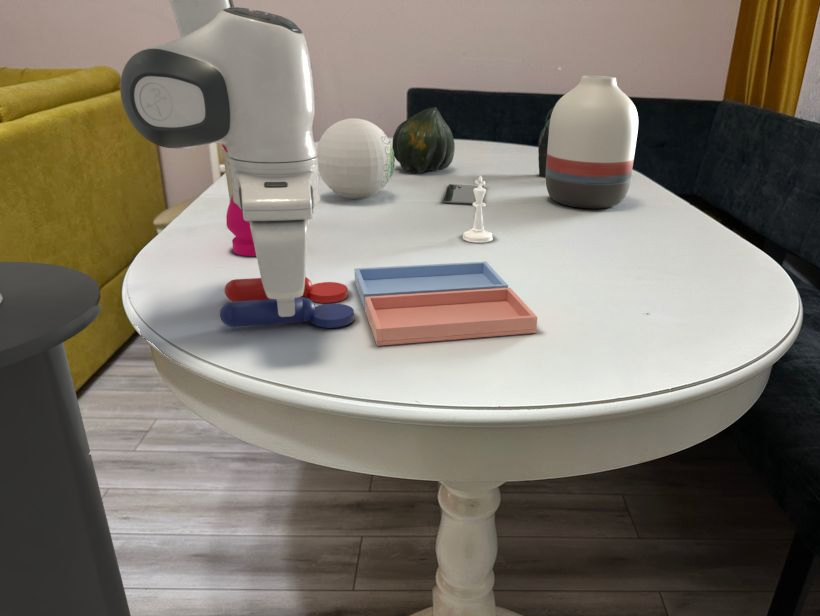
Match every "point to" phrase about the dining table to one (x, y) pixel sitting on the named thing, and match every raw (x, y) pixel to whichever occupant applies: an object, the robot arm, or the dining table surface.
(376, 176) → the decorative object
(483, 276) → the blue tray
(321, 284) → the red spoon
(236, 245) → the pepper mill
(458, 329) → the red tray
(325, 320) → the blue spoon
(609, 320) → the dining table surface
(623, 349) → the dining table surface
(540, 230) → the dining table surface
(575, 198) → the vase
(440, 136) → the squash
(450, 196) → the smartphone
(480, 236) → the chess piece
